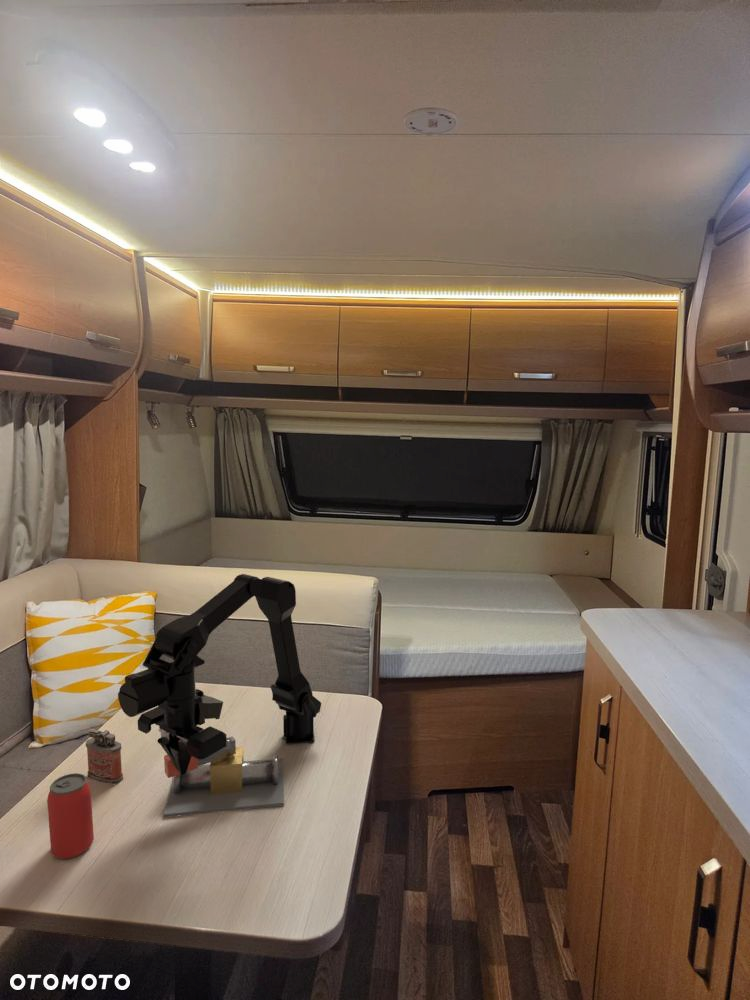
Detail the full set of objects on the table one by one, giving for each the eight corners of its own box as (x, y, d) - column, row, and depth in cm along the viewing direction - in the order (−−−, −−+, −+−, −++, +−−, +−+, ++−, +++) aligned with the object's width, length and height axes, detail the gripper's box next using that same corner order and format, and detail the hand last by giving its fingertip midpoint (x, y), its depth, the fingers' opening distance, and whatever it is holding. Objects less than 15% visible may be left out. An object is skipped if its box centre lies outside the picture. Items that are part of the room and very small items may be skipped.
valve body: (278, 773, 123) (277, 743, 122) (278, 791, 117) (278, 760, 116) (178, 782, 120) (177, 752, 119) (173, 801, 114) (172, 769, 113)
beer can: (61, 834, 105) (56, 771, 103) (99, 832, 105) (96, 770, 103) (43, 862, 98) (38, 795, 96) (84, 860, 99) (80, 794, 97)
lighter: (127, 776, 121) (124, 731, 120) (115, 786, 118) (112, 739, 117) (96, 768, 124) (93, 724, 123) (83, 777, 121) (80, 732, 119)
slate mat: (282, 760, 128) (282, 758, 127) (283, 805, 113) (283, 802, 113) (176, 769, 124) (176, 767, 124) (163, 817, 109) (163, 814, 109)
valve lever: (232, 750, 119) (231, 734, 119) (236, 755, 117) (235, 739, 117) (164, 772, 112) (164, 755, 111) (168, 778, 110) (167, 761, 109)
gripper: (248, 690, 109) (250, 769, 111) (183, 667, 120) (186, 739, 122) (199, 715, 100) (202, 800, 102) (133, 687, 110) (138, 765, 112)
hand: (183, 773), depth 110 cm, fingers closed
